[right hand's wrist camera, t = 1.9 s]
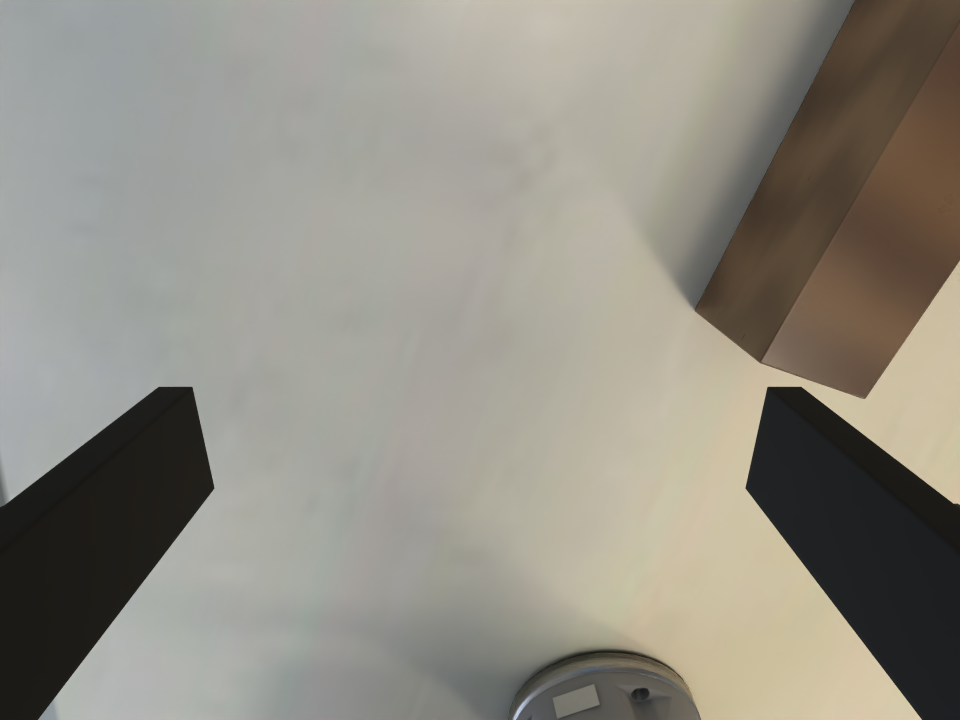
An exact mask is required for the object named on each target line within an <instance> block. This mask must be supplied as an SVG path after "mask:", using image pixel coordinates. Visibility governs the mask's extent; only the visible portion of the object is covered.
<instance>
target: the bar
mask: <svg viewBox="0 0 960 720" xmlns="http://www.w3.org/2000/svg"><path fill="white" fill-rule="evenodd" d="M959 261H960V0H856V1H855V3H854V4H853V6H852V8H851V10H850V12H849V14H848V16H847V18H846V20H845V22H844V24H843V26H842V28H841V30H840V31H839V33H838V35H837V37H836V39H835V41H834V43H833V45H832V47H831V49H830V51H829V53H828V55H827V57H826V58H825V60H824V62H823V64H822V66H821V68H820V70H819V72H818V74H817V76H816V78H815V80H814V82H813V84H812V85H811V87H810V89H809V91H808V93H807V95H806V97H805V99H804V101H803V103H802V105H801V107H800V109H799V111H798V112H797V114H796V116H795V118H794V120H793V122H792V124H791V126H790V128H789V130H788V132H787V134H786V136H785V138H784V139H783V141H782V143H781V145H780V147H779V149H778V151H777V153H776V155H775V157H774V159H773V161H772V163H771V165H770V166H769V168H768V170H767V172H766V174H765V176H764V178H763V180H762V182H761V184H760V186H759V188H758V190H757V192H756V193H755V195H754V197H753V199H752V201H751V203H750V205H749V207H748V209H747V211H746V213H745V215H744V217H743V219H742V220H741V222H740V224H739V226H738V228H737V230H736V232H735V234H734V236H733V238H732V240H731V242H730V244H729V246H728V247H727V249H726V251H725V253H724V255H723V257H722V259H721V261H720V263H719V265H718V267H717V269H716V271H715V273H714V274H713V276H712V278H711V280H710V282H709V284H708V286H707V288H706V290H705V292H704V294H703V296H702V298H701V300H700V301H699V303H698V305H697V307H696V309H695V312H697V313H698V314H699V315H700V316H702V317H703V318H704V319H705V320H707V321H708V322H709V323H710V324H712V325H713V326H714V327H715V328H717V329H718V330H719V331H720V332H722V333H723V334H724V335H725V336H727V337H728V338H729V339H731V340H732V341H733V342H734V343H736V344H737V345H738V346H739V347H741V348H742V349H743V350H744V351H746V352H747V353H748V354H749V355H751V356H752V357H753V358H754V359H756V360H757V361H758V362H759V363H762V364H764V365H767V366H770V367H773V368H776V369H779V370H782V371H785V372H787V373H790V374H793V375H796V376H799V377H802V378H805V379H808V380H810V381H813V382H816V383H819V384H822V385H825V386H828V387H831V388H833V389H836V390H839V391H842V392H845V393H848V394H851V395H854V396H857V397H859V398H862V399H865V398H866V397H867V395H868V394H869V392H870V391H871V390H872V388H873V387H874V385H875V384H876V382H877V381H878V379H879V378H880V376H881V375H882V373H883V372H884V371H885V369H886V368H887V366H888V365H889V363H890V362H891V360H892V359H893V357H894V356H895V354H896V353H897V352H898V350H899V349H900V347H901V346H902V344H903V343H904V341H905V340H906V338H907V337H908V335H909V334H910V333H911V331H912V330H913V328H914V327H915V325H916V324H917V322H918V321H919V319H920V318H921V316H922V315H923V314H924V312H925V311H926V309H927V308H928V306H929V305H930V303H931V302H932V300H933V299H934V297H935V296H936V295H937V293H938V292H939V290H940V289H941V287H942V286H943V284H944V283H945V281H946V280H947V278H948V277H949V276H950V274H951V273H952V271H953V270H954V268H955V267H956V265H957V264H958V262H959Z"/></svg>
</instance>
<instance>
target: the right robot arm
mask: <svg viewBox="0 0 960 720" xmlns="http://www.w3.org/2000/svg"><path fill="white" fill-rule="evenodd" d="M213 490H214V484H213V479H212V475H211V470H210V466H209V461H208V456H207V452H206V447H205V443H204V438H203V433H202V429H201V424H200V420H199V415H198V411H197V406H196V401H195V397H194V392H193V388H192V387H158V388H157V389H155V390H154V391H153V392H152V393H150V394H149V395H148V396H146V397H145V398H144V399H142V400H141V401H140V402H139V403H137V404H136V405H135V406H133V407H132V408H131V409H129V410H128V411H127V412H126V413H124V414H123V415H122V416H120V417H119V418H118V419H116V420H115V421H114V422H112V423H111V424H110V425H109V426H107V427H106V428H105V429H103V430H102V431H101V432H99V433H98V434H97V435H96V436H94V437H93V438H92V439H90V440H89V441H88V442H86V443H85V444H84V445H83V446H81V447H80V448H79V449H77V450H76V451H75V452H73V453H72V454H71V455H69V456H68V457H67V458H66V459H64V460H63V461H62V462H60V463H59V464H58V465H56V466H55V467H54V468H53V469H51V470H50V471H49V472H47V473H46V474H45V475H43V476H42V477H41V478H40V479H38V480H37V481H36V482H34V483H33V484H32V485H30V486H29V487H28V488H27V489H25V490H24V491H23V492H21V493H20V494H19V495H17V496H16V497H15V498H13V499H12V500H11V501H10V502H8V503H7V504H6V505H4V506H2V507H0V720H38V719H39V718H40V716H41V715H42V714H43V712H44V711H45V710H46V708H47V707H48V706H49V704H50V703H51V702H52V701H53V699H54V698H55V697H56V695H57V694H58V693H59V691H60V690H61V689H62V687H63V686H64V685H65V683H66V682H67V681H68V680H69V678H70V677H71V676H72V674H73V673H74V672H75V670H76V669H77V668H78V666H79V665H80V664H81V663H82V661H83V660H84V659H85V657H86V656H87V655H88V653H89V652H90V651H91V649H92V648H93V647H94V645H95V644H96V643H97V642H98V640H99V639H100V638H101V636H102V635H103V634H104V632H105V631H106V630H107V628H108V627H109V626H110V625H111V623H112V622H113V621H114V619H115V618H116V617H117V615H118V614H119V613H120V611H121V610H122V609H123V607H124V606H125V605H126V604H127V602H128V601H129V600H130V598H131V597H132V596H133V594H134V593H135V592H136V590H137V589H138V588H139V587H140V585H141V584H142V583H143V581H144V580H145V579H146V577H147V576H148V575H149V573H150V572H151V571H152V569H153V568H154V567H155V566H156V564H157V563H158V562H159V560H160V559H161V558H162V556H163V555H164V554H165V552H166V551H167V550H168V549H169V547H170V546H171V545H172V543H173V542H174V541H175V539H176V538H177V537H178V535H179V534H180V533H181V531H182V530H183V529H184V528H185V526H186V525H187V524H188V522H189V521H190V520H191V518H192V517H193V516H194V514H195V513H196V512H197V511H198V509H199V508H200V507H201V505H202V504H203V503H204V501H205V500H206V499H207V497H208V496H209V495H210V493H211V492H212V491H213ZM746 490H747V491H748V492H749V493H750V495H751V496H752V497H753V499H754V500H755V501H756V503H757V504H758V505H759V507H760V508H761V509H762V511H763V512H764V513H765V514H766V516H767V517H768V518H769V520H770V521H771V522H772V524H773V525H774V526H775V528H776V529H777V530H778V531H779V533H780V534H781V535H782V537H783V538H784V539H785V541H786V542H787V543H788V545H789V546H790V547H791V549H792V550H793V551H794V552H795V554H796V555H797V556H798V558H799V559H800V560H801V562H802V563H803V564H804V566H805V567H806V568H807V569H808V571H809V572H810V573H811V575H812V576H813V577H814V579H815V580H816V581H817V583H818V584H819V585H820V587H821V588H822V589H823V590H824V592H825V593H826V594H827V596H828V597H829V598H830V600H831V601H832V602H833V604H834V605H835V606H836V607H837V609H838V610H839V611H840V613H841V614H842V615H843V617H844V618H845V619H846V621H847V622H848V623H849V625H850V626H851V627H852V628H853V630H854V631H855V632H856V634H857V635H858V636H859V638H860V639H861V640H862V642H863V643H864V644H865V645H866V647H867V648H868V649H869V651H870V652H871V653H872V655H873V656H874V657H875V659H876V660H877V661H878V663H879V664H880V665H881V666H882V668H883V669H884V670H885V672H886V673H887V674H888V676H889V677H890V678H891V680H892V681H893V682H894V683H895V685H896V686H897V687H898V689H899V690H900V691H901V693H902V694H903V695H904V697H905V698H906V699H907V701H908V702H909V703H910V704H911V706H912V707H913V708H914V710H915V711H916V712H917V714H918V715H919V716H920V718H921V719H922V720H960V505H959V504H953V503H952V502H950V501H949V500H948V499H947V498H945V497H944V496H943V495H941V494H940V493H939V492H937V491H936V490H935V489H933V488H932V487H931V486H930V485H928V484H927V483H926V482H924V481H923V480H922V479H920V478H919V477H918V476H917V475H915V474H914V473H913V472H911V471H910V470H909V469H907V468H906V467H905V466H904V465H902V464H901V463H900V462H898V461H897V460H896V459H894V458H893V457H892V456H891V455H889V454H888V453H887V452H885V451H884V450H883V449H881V448H880V447H879V446H877V445H876V444H875V443H874V442H872V441H871V440H870V439H868V438H867V437H866V436H864V435H863V434H862V433H861V432H859V431H858V430H857V429H855V428H854V427H853V426H851V425H850V424H849V423H848V422H846V421H845V420H844V419H842V418H841V417H840V416H838V415H837V414H836V413H834V412H833V411H832V410H831V409H829V408H828V407H827V406H825V405H824V404H823V403H821V402H820V401H819V400H818V399H816V398H815V397H814V396H812V395H811V394H810V393H808V392H807V391H806V390H805V389H803V388H802V387H768V388H767V392H766V397H765V401H764V406H763V411H762V415H761V420H760V424H759V429H758V433H757V438H756V443H755V447H754V452H753V456H752V461H751V466H750V470H749V475H748V479H747V484H746ZM509 720H701V718H700V715H699V712H698V710H697V707H696V705H695V702H694V699H693V697H692V694H691V692H690V690H689V688H688V687H687V685H686V684H685V682H684V681H683V680H682V679H681V678H680V677H679V676H678V675H677V674H676V673H675V672H673V671H672V670H671V669H669V668H668V667H666V666H664V665H662V664H660V663H658V662H656V661H654V660H651V659H648V658H645V657H641V656H637V655H632V654H626V653H610V652H607V653H593V654H586V655H581V656H577V657H573V658H569V659H566V660H563V661H561V662H558V663H556V664H554V665H552V666H550V667H548V668H546V669H544V670H543V671H541V672H539V673H538V674H536V675H535V676H534V677H533V678H531V679H530V680H529V681H528V682H527V683H526V684H525V685H524V686H523V687H522V688H521V690H520V691H519V692H518V694H517V695H516V697H515V699H514V701H513V703H512V706H511V709H510V713H509Z"/></svg>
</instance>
